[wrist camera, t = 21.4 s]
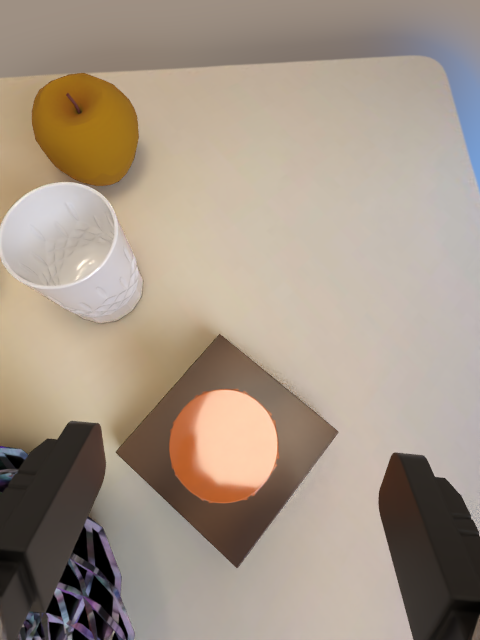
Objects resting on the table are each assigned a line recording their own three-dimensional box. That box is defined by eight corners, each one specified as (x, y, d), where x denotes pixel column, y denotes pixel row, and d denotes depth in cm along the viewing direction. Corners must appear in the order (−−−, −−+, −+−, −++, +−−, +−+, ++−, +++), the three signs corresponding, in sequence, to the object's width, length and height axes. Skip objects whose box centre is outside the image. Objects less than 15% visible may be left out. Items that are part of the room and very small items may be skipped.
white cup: (51, 266, 37) (-16, 205, 27) (133, 235, 37) (96, 166, 28) (76, 344, 35) (13, 307, 25) (162, 309, 35) (133, 261, 26)
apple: (145, 126, 41) (121, 45, 33) (154, 198, 39) (130, 130, 30) (61, 138, 41) (14, 59, 32) (65, 211, 38) (15, 146, 30)
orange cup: (285, 437, 30) (301, 437, 23) (232, 505, 29) (230, 529, 21) (223, 384, 32) (218, 367, 24) (170, 447, 30) (146, 450, 23)
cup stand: (333, 432, 32) (361, 430, 25) (237, 560, 30) (236, 602, 22) (220, 339, 35) (215, 311, 27) (122, 451, 32) (85, 455, 24)
